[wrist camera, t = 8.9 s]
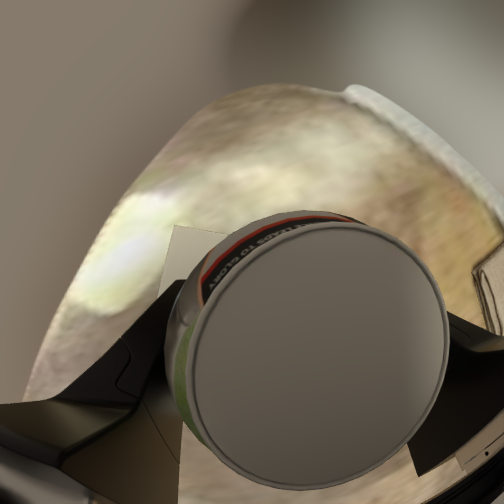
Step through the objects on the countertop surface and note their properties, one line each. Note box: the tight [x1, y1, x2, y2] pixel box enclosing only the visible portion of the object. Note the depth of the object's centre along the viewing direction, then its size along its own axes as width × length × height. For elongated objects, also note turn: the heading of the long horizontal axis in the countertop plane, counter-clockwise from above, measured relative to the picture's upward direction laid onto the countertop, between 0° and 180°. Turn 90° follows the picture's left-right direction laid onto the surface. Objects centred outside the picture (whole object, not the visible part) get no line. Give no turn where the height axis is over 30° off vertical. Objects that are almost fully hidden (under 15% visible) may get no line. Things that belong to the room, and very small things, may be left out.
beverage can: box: [164, 210, 450, 491], centre depth 10 cm, size 6×7×12 cm
